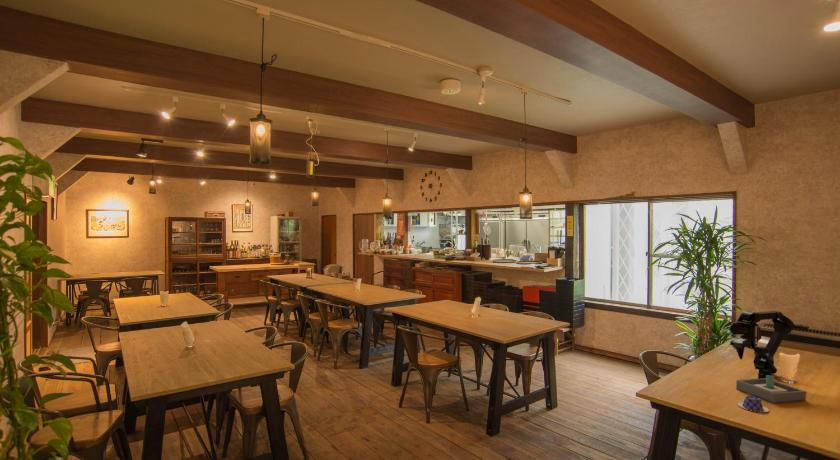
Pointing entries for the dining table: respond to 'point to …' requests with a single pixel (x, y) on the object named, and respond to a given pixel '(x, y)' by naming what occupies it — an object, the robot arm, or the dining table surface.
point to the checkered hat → (753, 404)
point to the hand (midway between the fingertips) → (748, 361)
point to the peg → (769, 382)
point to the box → (771, 391)
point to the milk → (764, 345)
